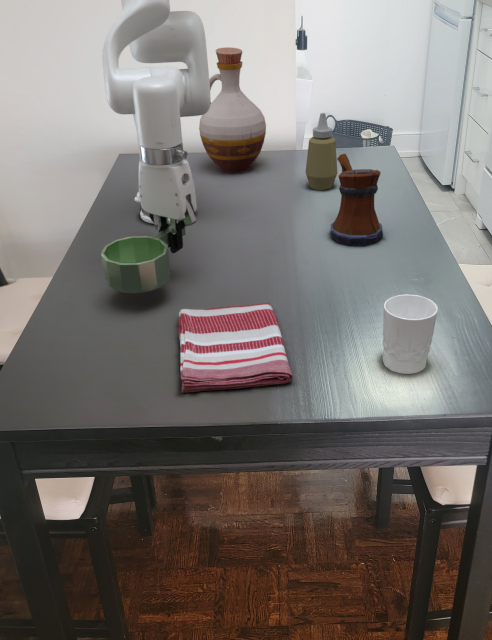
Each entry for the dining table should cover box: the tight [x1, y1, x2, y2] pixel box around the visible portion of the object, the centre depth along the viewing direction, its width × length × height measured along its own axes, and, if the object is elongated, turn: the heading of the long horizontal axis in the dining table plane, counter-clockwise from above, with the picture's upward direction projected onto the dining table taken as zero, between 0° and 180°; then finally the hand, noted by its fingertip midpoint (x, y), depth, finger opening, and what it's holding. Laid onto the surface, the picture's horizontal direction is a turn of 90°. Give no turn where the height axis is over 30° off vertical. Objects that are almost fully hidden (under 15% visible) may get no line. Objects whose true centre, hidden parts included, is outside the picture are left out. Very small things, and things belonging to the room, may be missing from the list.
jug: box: [198, 47, 267, 174], centre depth 182 cm, size 20×18×30 cm
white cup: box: [382, 293, 439, 375], centre depth 106 cm, size 8×8×10 cm
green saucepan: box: [100, 222, 186, 294], centre depth 127 cm, size 20×12×6 cm, turn 148°
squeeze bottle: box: [305, 112, 338, 191], centre depth 171 cm, size 8×8×18 cm
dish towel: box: [178, 302, 294, 394], centre depth 112 cm, size 17×23×3 cm
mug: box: [330, 153, 384, 247], centre depth 148 cm, size 18×12×15 cm, turn 11°
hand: (172, 248), depth 132 cm, fingers closed on green saucepan
